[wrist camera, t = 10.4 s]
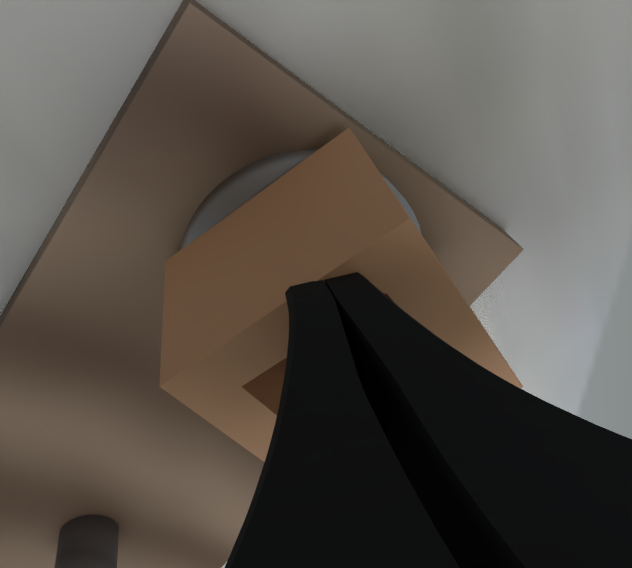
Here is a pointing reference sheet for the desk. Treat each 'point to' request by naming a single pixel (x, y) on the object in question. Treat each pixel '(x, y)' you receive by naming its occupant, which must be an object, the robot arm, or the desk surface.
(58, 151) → the desk surface
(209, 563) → the hub board
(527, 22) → the desk surface
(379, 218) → the collar
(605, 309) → the desk surface
